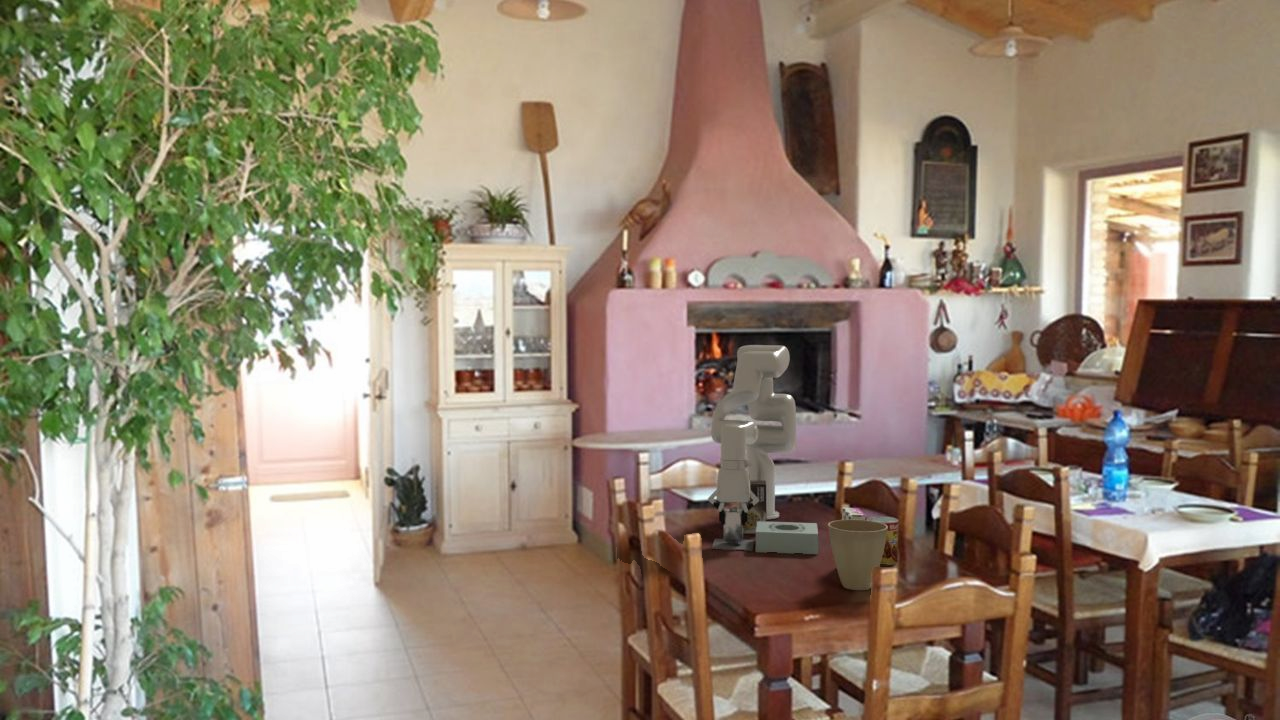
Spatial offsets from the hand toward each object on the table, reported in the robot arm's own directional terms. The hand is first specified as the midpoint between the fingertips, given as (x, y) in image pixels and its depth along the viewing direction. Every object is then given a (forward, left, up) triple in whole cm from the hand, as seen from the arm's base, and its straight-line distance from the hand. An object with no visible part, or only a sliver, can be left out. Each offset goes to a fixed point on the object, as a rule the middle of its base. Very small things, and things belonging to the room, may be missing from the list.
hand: (733, 523), depth 287 cm
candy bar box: (+23, +34, -7) cm, 42 cm away
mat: (0, 0, -7) cm, 7 cm away
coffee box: (-19, +5, -7) cm, 21 cm away
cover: (0, 0, -5) cm, 5 cm away
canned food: (+12, +43, -7) cm, 45 cm away
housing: (0, +16, -7) cm, 17 cm away
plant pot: (+38, +34, -7) cm, 52 cm away
